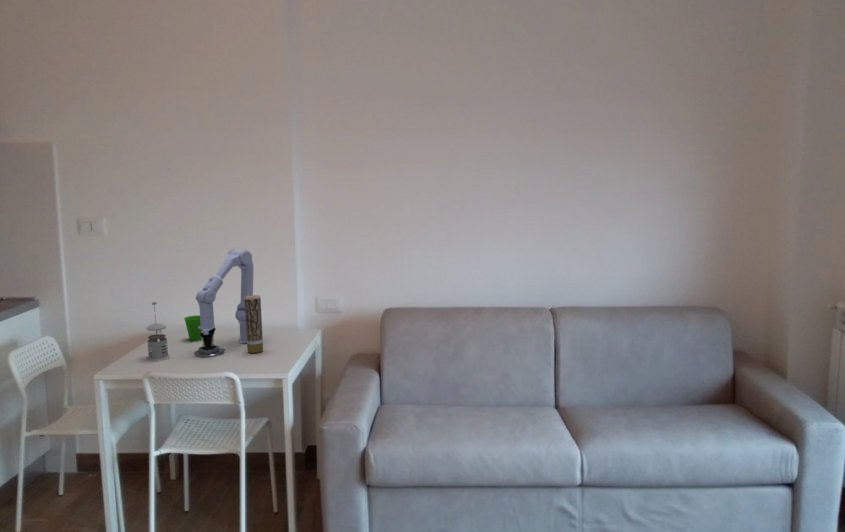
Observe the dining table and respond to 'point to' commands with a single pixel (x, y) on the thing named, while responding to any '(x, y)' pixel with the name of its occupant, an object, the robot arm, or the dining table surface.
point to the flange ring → (209, 352)
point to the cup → (193, 327)
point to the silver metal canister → (211, 345)
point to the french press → (157, 348)
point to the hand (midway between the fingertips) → (209, 346)
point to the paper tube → (253, 324)
